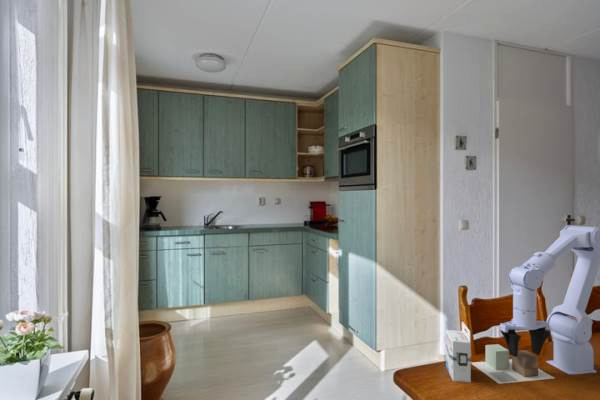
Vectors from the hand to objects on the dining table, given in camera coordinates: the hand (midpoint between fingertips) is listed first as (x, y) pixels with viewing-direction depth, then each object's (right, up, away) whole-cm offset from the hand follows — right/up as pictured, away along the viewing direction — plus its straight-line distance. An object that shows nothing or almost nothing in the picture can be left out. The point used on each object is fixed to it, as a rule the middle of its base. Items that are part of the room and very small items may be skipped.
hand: (524, 354), depth 97 cm
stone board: (-3, -6, +2) cm, 7 cm away
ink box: (-20, -6, 0) cm, 21 cm away
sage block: (-6, -5, +4) cm, 9 cm away
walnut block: (0, -5, 0) cm, 5 cm away
